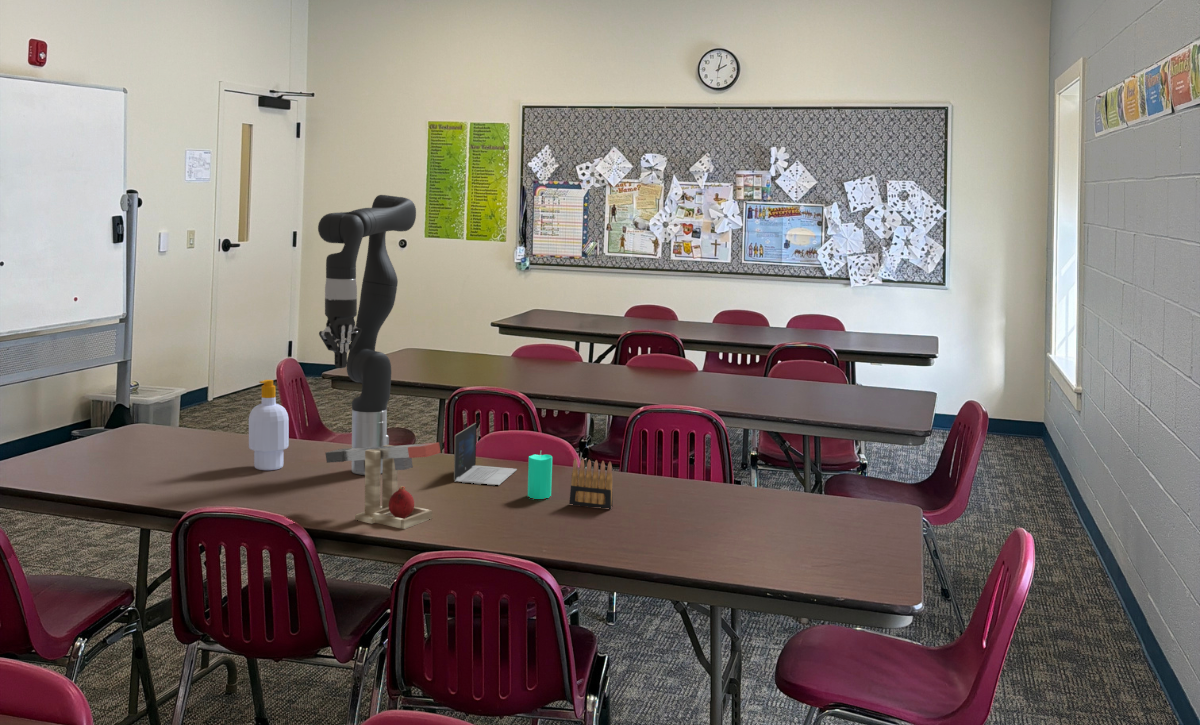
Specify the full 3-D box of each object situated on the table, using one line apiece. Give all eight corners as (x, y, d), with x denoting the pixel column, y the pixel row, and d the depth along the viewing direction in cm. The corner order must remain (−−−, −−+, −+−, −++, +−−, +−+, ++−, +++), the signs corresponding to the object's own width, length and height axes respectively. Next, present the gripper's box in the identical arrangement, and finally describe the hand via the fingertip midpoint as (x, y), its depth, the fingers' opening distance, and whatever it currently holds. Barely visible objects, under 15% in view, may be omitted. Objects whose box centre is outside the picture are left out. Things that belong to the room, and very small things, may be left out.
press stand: (355, 519, 230) (355, 451, 228) (389, 508, 241) (390, 442, 238) (401, 530, 224) (402, 460, 222) (434, 517, 234) (436, 450, 232)
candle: (555, 495, 257) (556, 449, 256) (544, 501, 252) (545, 454, 250) (534, 492, 260) (536, 446, 258) (523, 497, 254) (524, 451, 253)
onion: (408, 524, 228) (408, 490, 227) (384, 522, 229) (384, 488, 228) (417, 517, 234) (418, 484, 233) (394, 515, 235) (395, 482, 234)
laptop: (498, 487, 264) (499, 438, 262) (453, 483, 266) (454, 435, 265) (517, 471, 282) (518, 425, 280) (474, 467, 284) (475, 422, 282)
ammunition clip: (612, 508, 248) (614, 461, 247) (610, 510, 247) (612, 462, 245) (571, 503, 251) (572, 456, 249) (569, 505, 249) (570, 458, 248)
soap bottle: (240, 469, 271) (239, 380, 268) (266, 461, 281) (266, 376, 278) (271, 474, 268) (270, 384, 264) (296, 466, 277) (296, 379, 274)
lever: (328, 474, 237) (325, 452, 237) (343, 470, 242) (340, 448, 242) (428, 469, 223) (425, 446, 223) (442, 465, 227) (439, 442, 227)
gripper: (348, 294, 251) (347, 363, 254) (309, 297, 240) (309, 369, 242) (371, 296, 248) (370, 366, 250) (333, 299, 236) (333, 372, 239)
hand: (340, 367), depth 246 cm, fingers closed
